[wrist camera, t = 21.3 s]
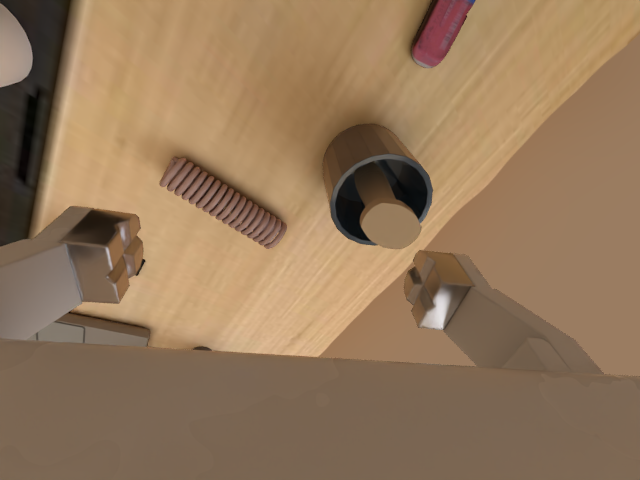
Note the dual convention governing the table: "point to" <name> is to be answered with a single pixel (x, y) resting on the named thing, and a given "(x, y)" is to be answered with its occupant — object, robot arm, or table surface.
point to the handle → (384, 210)
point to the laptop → (92, 332)
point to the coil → (222, 203)
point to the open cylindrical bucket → (389, 156)
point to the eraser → (439, 30)
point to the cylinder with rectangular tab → (13, 50)
